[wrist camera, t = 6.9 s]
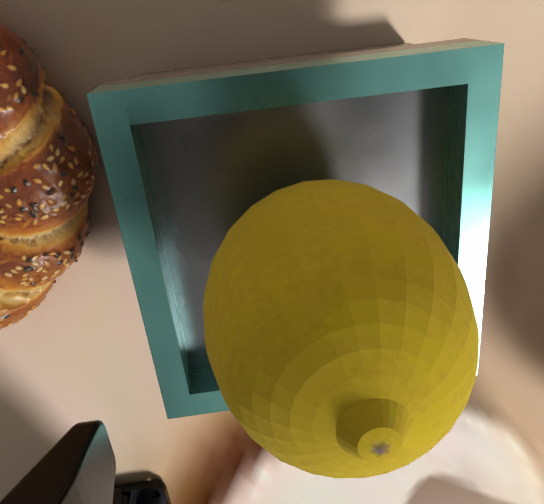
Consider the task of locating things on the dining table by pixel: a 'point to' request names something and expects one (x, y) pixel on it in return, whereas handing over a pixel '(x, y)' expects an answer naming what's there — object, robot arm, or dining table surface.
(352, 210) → the lemon
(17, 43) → the pretzel
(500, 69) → the teal tray on stand
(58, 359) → the dining table surface
